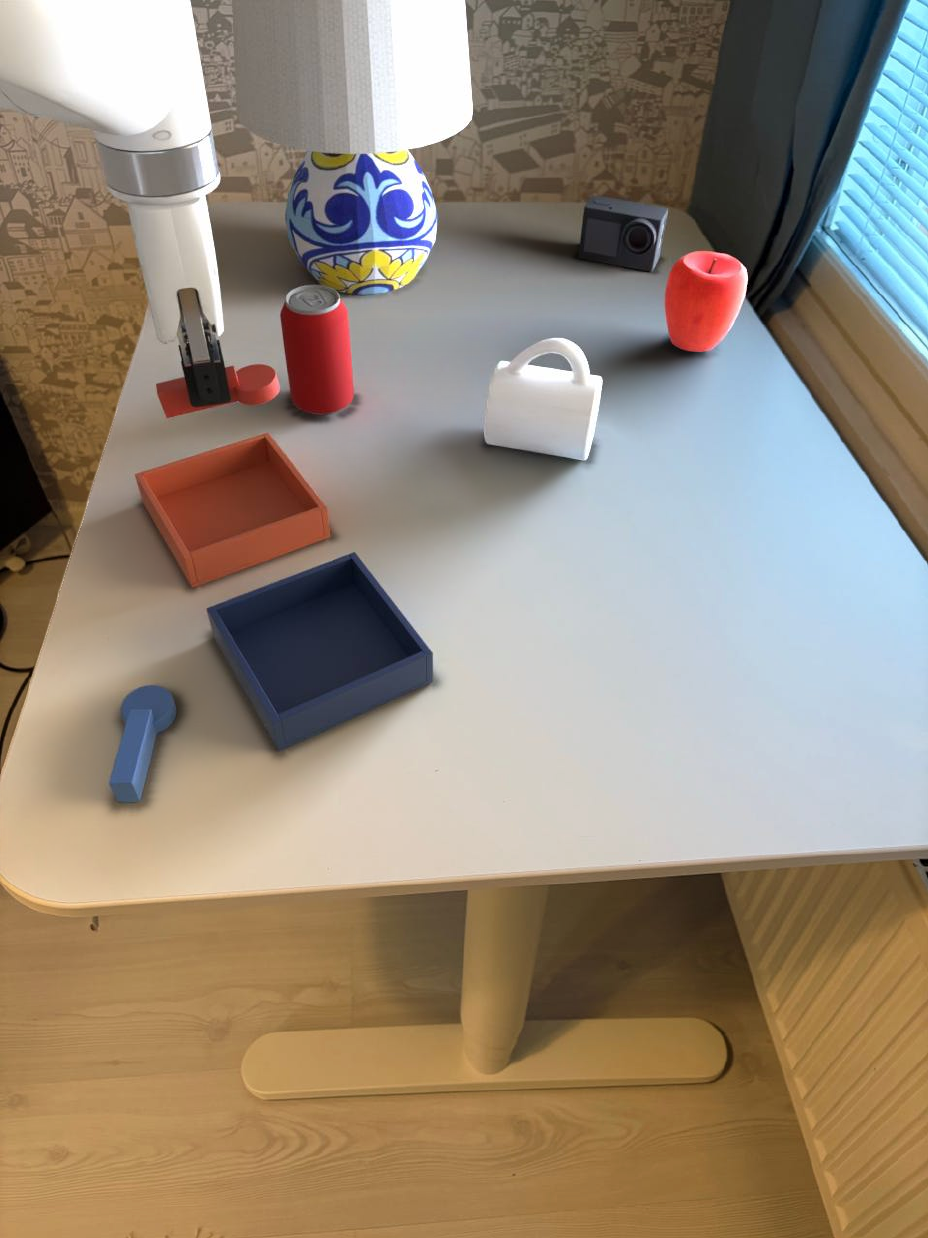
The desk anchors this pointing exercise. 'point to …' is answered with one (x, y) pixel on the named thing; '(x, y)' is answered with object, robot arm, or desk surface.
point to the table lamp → (355, 123)
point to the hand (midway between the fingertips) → (209, 393)
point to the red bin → (232, 508)
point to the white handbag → (543, 403)
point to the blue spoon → (140, 738)
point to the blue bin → (319, 648)
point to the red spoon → (244, 388)
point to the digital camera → (622, 232)
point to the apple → (703, 299)
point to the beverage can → (317, 349)
